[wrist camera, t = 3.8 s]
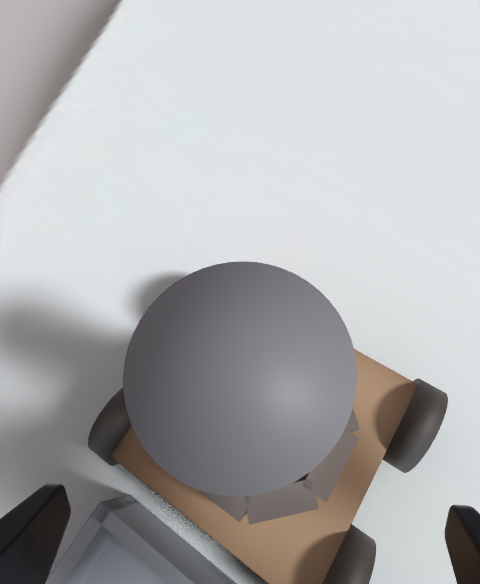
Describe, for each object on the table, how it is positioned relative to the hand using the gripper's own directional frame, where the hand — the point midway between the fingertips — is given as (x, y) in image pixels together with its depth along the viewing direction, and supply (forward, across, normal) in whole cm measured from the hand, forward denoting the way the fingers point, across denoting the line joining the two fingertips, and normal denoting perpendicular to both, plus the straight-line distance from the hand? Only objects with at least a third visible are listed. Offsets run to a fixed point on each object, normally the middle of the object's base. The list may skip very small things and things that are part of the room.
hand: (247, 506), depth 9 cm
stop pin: (+8, 0, +4) cm, 8 cm away
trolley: (+10, 0, +6) cm, 11 cm away
